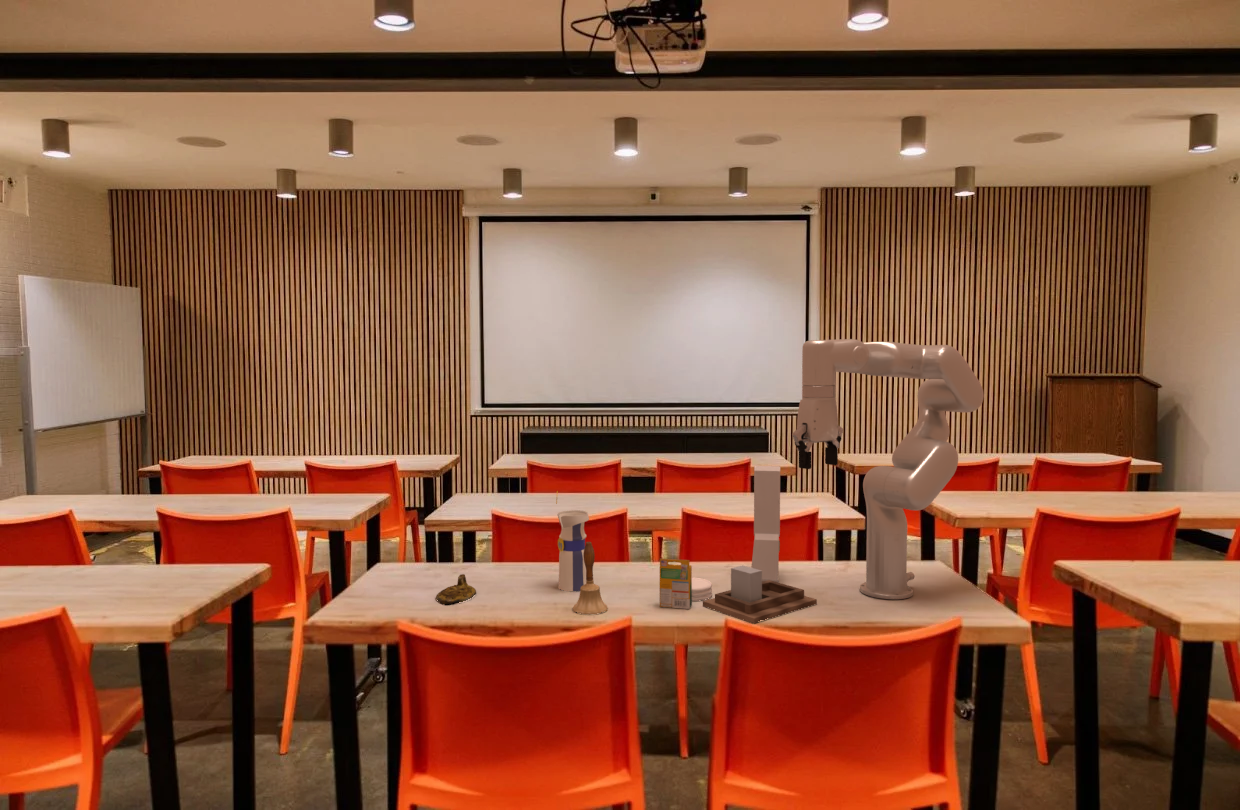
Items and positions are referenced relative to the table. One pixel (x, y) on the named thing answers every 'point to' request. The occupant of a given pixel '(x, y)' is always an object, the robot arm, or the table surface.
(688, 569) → the crayon box
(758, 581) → the grey block
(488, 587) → the table surface
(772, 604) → the tray
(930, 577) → the table surface
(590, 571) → the hand bell
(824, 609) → the table surface
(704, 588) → the white round stack
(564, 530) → the water bottle
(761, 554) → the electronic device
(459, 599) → the seal
